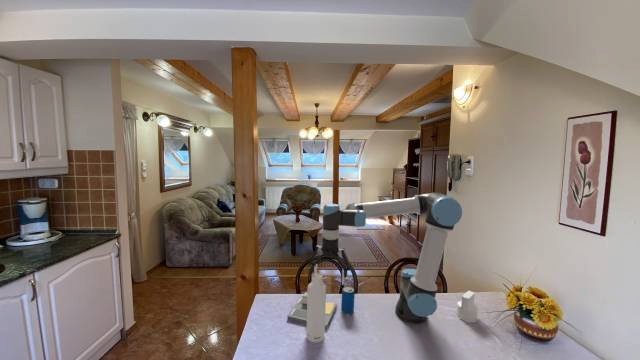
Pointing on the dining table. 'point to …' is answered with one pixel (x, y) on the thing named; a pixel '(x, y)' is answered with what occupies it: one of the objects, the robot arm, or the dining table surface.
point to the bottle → (316, 309)
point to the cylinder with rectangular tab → (467, 308)
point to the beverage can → (347, 300)
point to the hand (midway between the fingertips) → (329, 281)
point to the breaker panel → (300, 312)
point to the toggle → (305, 298)
